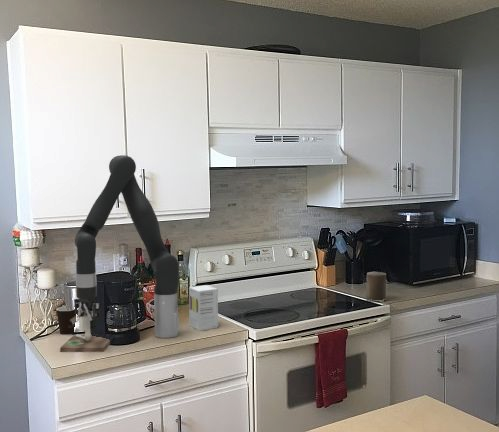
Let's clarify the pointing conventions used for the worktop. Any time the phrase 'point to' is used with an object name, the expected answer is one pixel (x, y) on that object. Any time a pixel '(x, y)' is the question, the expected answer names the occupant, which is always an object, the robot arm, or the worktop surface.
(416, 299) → the worktop surface
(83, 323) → the tuning peg
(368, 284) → the pillar candle
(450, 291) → the worktop surface
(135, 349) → the worktop surface
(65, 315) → the coffee mug
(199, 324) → the supplement box
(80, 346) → the dial plate
